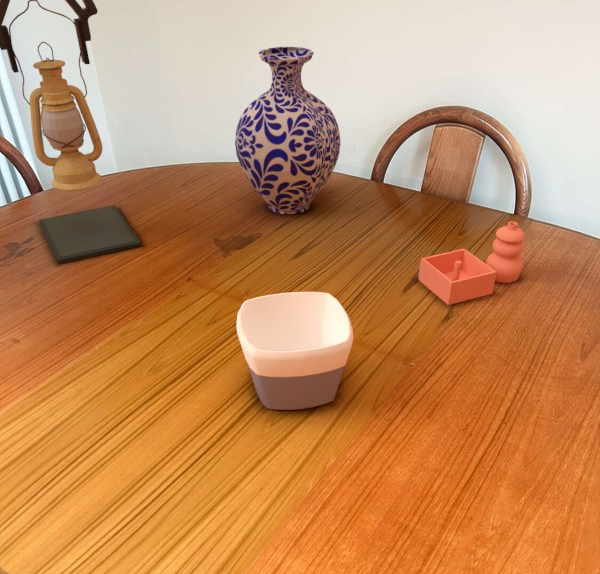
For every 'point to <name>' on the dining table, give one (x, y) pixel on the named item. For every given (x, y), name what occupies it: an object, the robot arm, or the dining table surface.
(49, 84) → the lantern
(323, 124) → the vase
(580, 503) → the dining table surface
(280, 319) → the bowl
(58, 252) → the placemat
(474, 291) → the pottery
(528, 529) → the dining table surface
